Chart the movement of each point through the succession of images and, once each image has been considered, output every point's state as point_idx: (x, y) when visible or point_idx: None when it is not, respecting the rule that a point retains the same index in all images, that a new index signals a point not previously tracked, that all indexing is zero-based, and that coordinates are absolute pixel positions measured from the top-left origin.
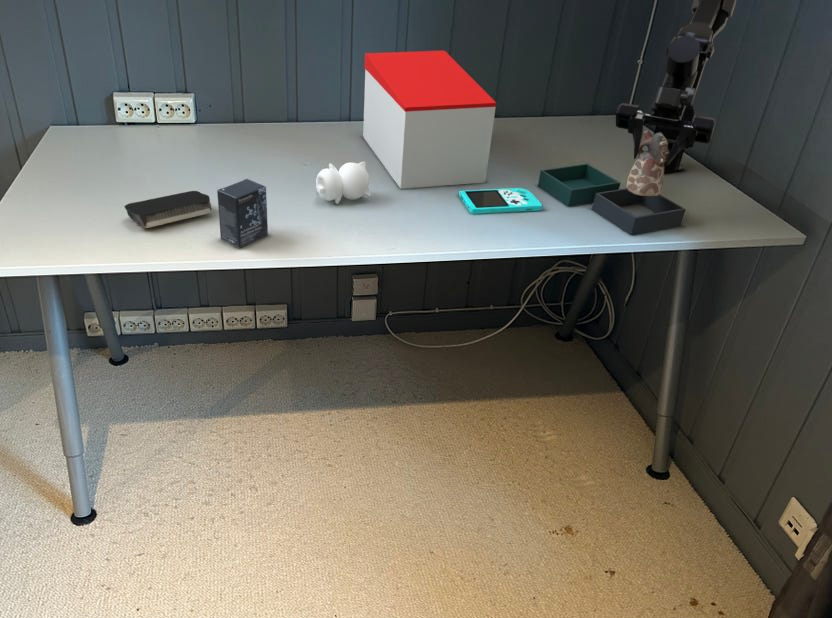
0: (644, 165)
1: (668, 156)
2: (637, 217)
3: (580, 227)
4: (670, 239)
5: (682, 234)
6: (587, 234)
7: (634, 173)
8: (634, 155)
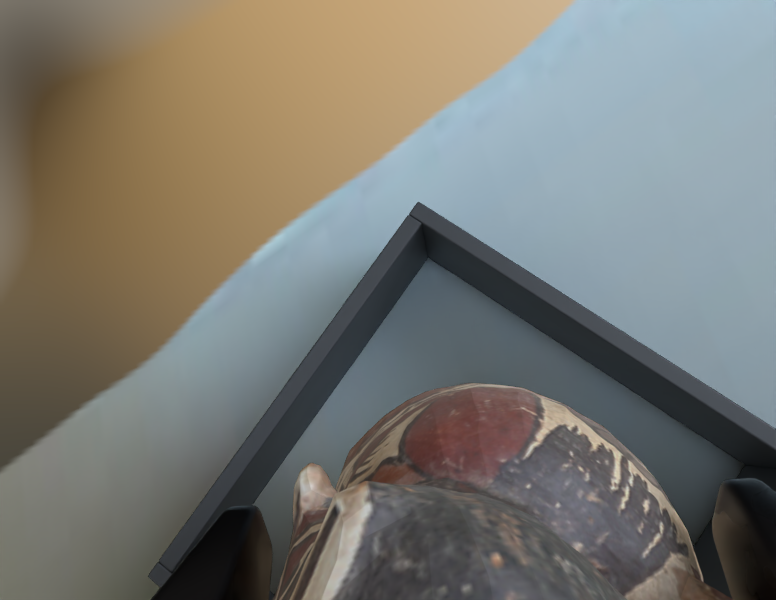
0: (525, 395)
1: (222, 575)
2: (409, 218)
3: (707, 160)
4: (221, 322)
5: (173, 432)
6: (634, 101)
7: (606, 429)
8: (759, 483)
